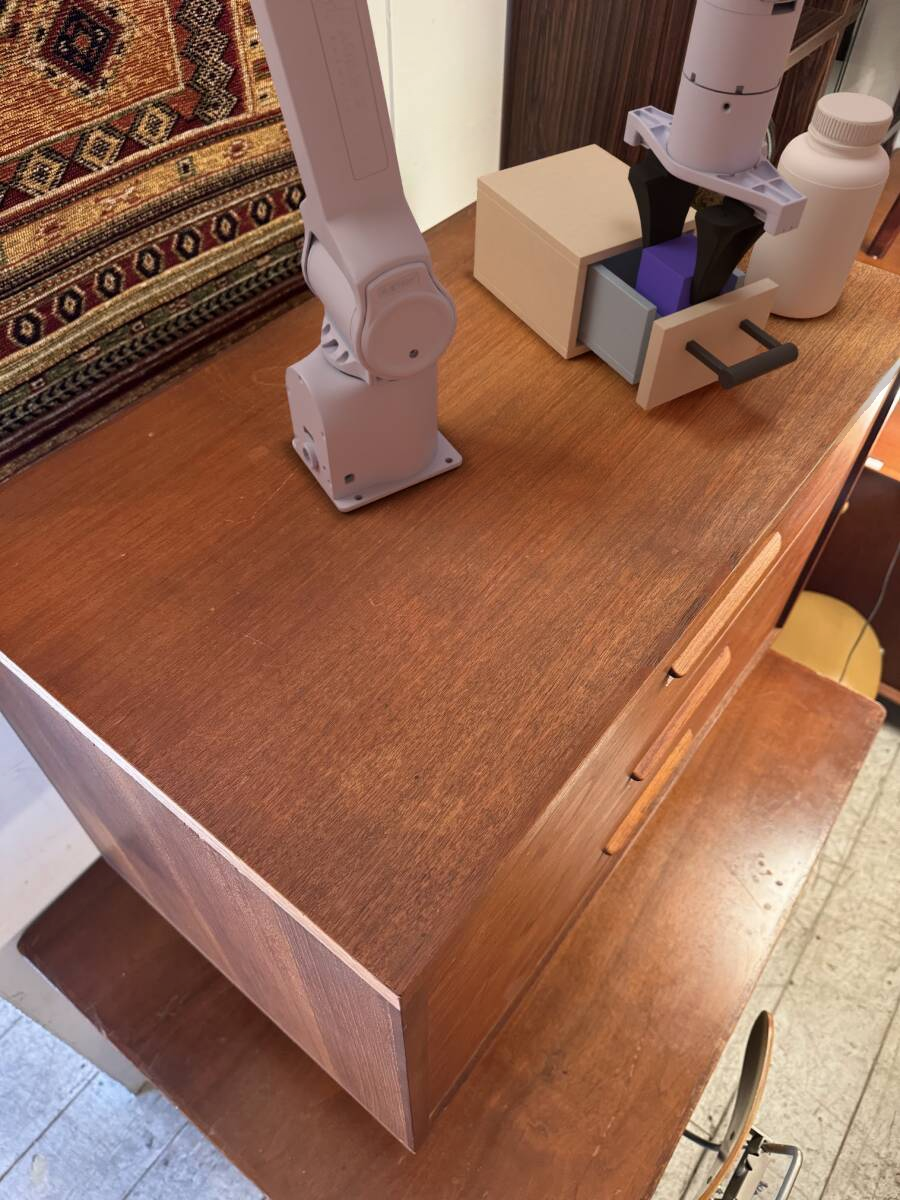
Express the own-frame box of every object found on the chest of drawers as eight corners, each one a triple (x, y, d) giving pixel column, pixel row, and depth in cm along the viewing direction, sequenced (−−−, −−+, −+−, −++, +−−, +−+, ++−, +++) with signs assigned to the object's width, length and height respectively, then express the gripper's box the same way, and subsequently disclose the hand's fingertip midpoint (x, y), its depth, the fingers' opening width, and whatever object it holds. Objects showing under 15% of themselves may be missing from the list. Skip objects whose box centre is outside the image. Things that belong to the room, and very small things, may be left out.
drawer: (798, 401, 63) (832, 320, 58) (690, 450, 60) (715, 369, 55) (647, 286, 72) (664, 207, 67) (545, 323, 69) (554, 243, 64)
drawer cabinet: (679, 316, 71) (705, 215, 65) (566, 360, 68) (580, 257, 61) (581, 241, 78) (594, 143, 72) (473, 276, 75) (477, 176, 68)
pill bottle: (827, 271, 76) (899, 86, 64) (844, 325, 71) (925, 134, 59) (736, 265, 76) (791, 80, 64) (746, 318, 71) (808, 127, 60)
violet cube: (672, 325, 61) (684, 279, 58) (633, 294, 63) (642, 248, 60) (719, 307, 62) (733, 261, 59) (679, 278, 65) (690, 232, 62)
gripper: (874, 106, 48) (794, 318, 59) (700, 22, 56) (657, 224, 67) (782, 134, 46) (717, 350, 57) (614, 43, 54) (584, 248, 64)
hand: (680, 284), depth 62 cm, fingers closed on violet cube, 4 cm apart
